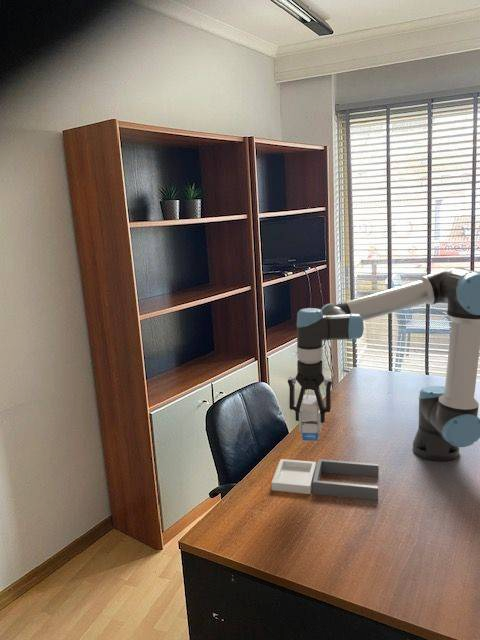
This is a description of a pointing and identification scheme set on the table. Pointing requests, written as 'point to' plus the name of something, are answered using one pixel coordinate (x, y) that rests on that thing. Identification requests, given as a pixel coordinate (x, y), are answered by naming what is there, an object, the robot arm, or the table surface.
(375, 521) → the table surface
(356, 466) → the bay
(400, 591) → the table surface
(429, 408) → the robot arm
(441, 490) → the table surface
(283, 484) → the tray
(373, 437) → the table surface
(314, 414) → the ink box
